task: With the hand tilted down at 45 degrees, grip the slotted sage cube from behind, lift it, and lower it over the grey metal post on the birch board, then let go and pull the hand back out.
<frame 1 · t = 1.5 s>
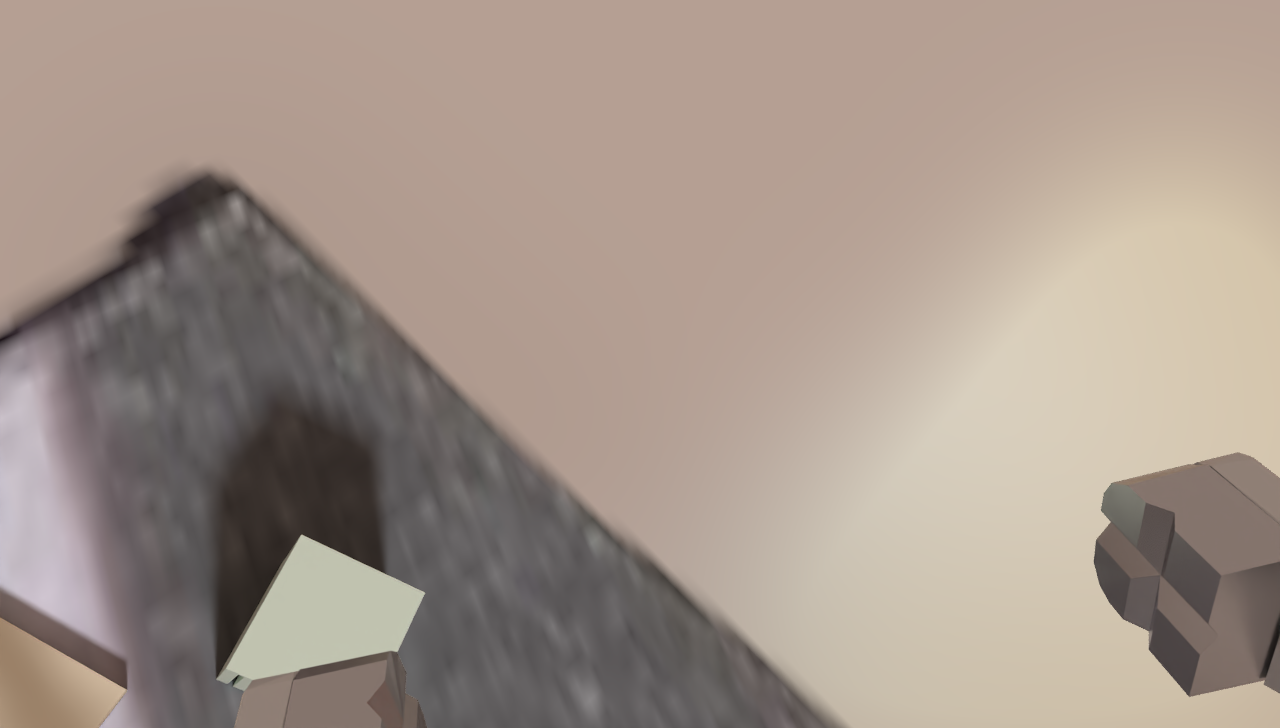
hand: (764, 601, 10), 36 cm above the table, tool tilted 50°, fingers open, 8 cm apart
slotted sage cube: (306, 644, 41), on the table
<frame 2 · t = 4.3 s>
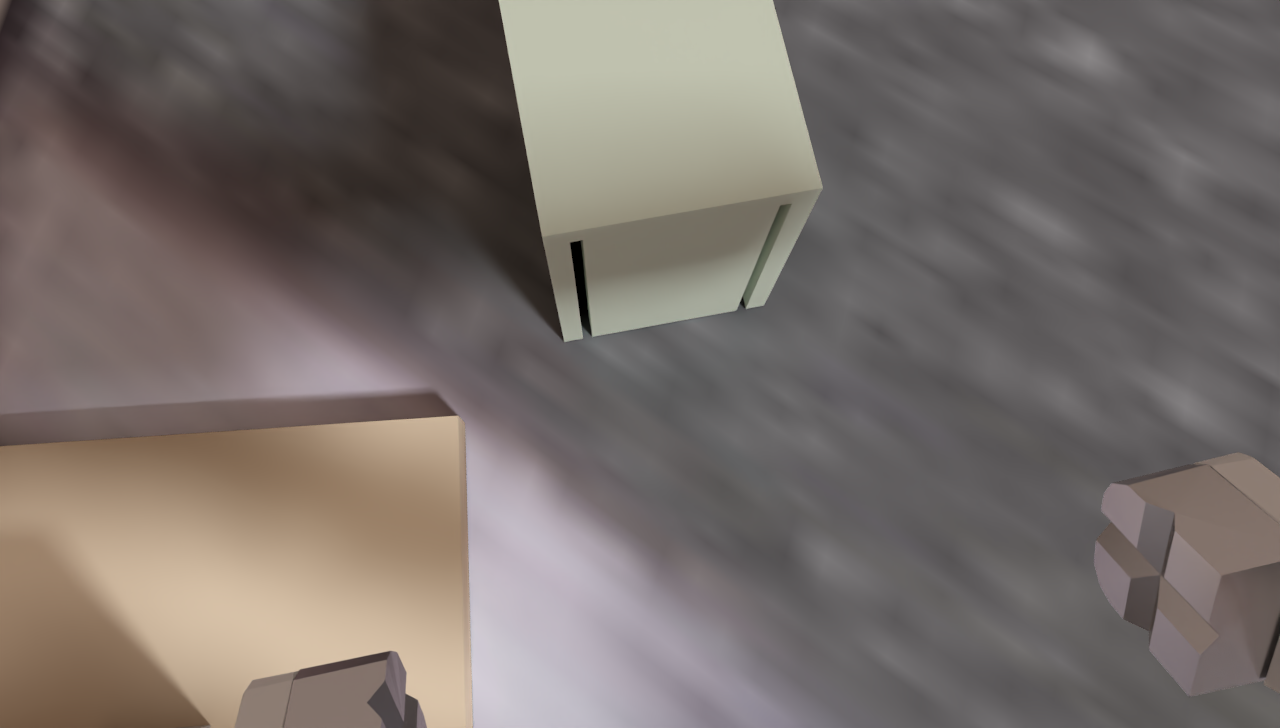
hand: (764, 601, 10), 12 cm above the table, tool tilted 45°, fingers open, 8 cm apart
slotted sage cube: (645, 230, 25), on the table
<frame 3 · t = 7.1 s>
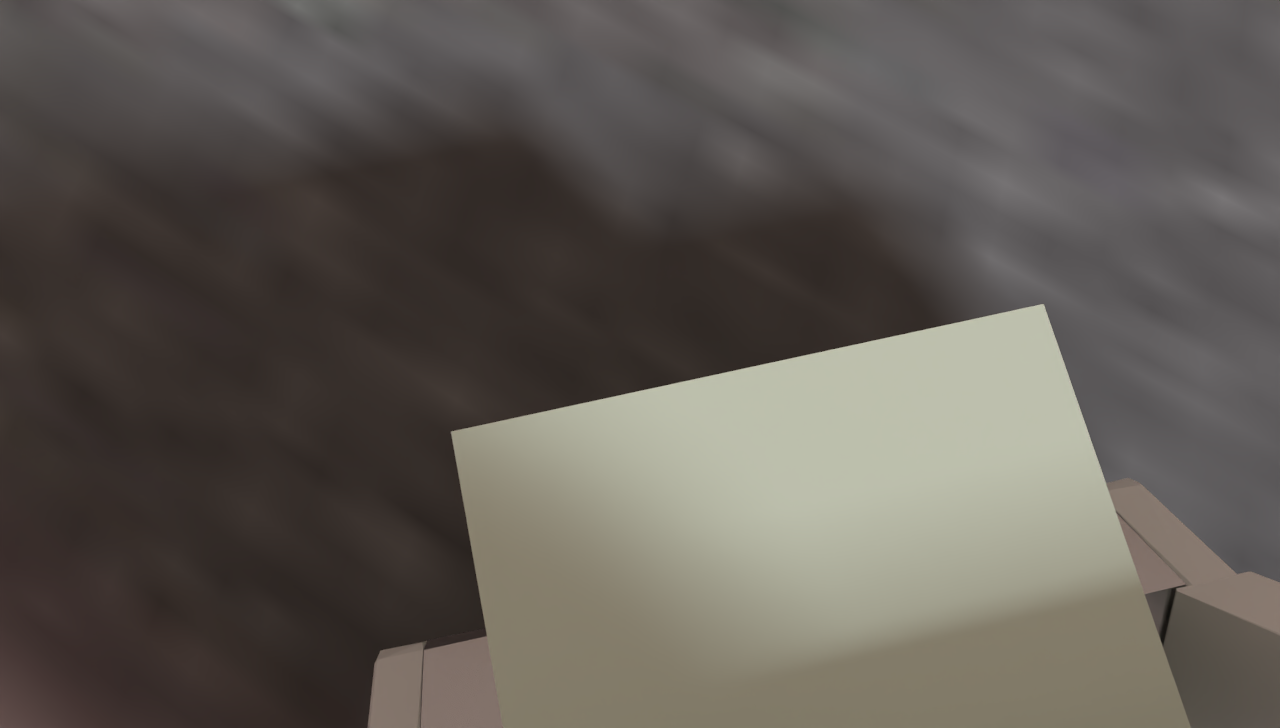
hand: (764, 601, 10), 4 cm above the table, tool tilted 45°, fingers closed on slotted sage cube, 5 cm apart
slotted sage cube: (732, 639, 14), on the table, touching gripper
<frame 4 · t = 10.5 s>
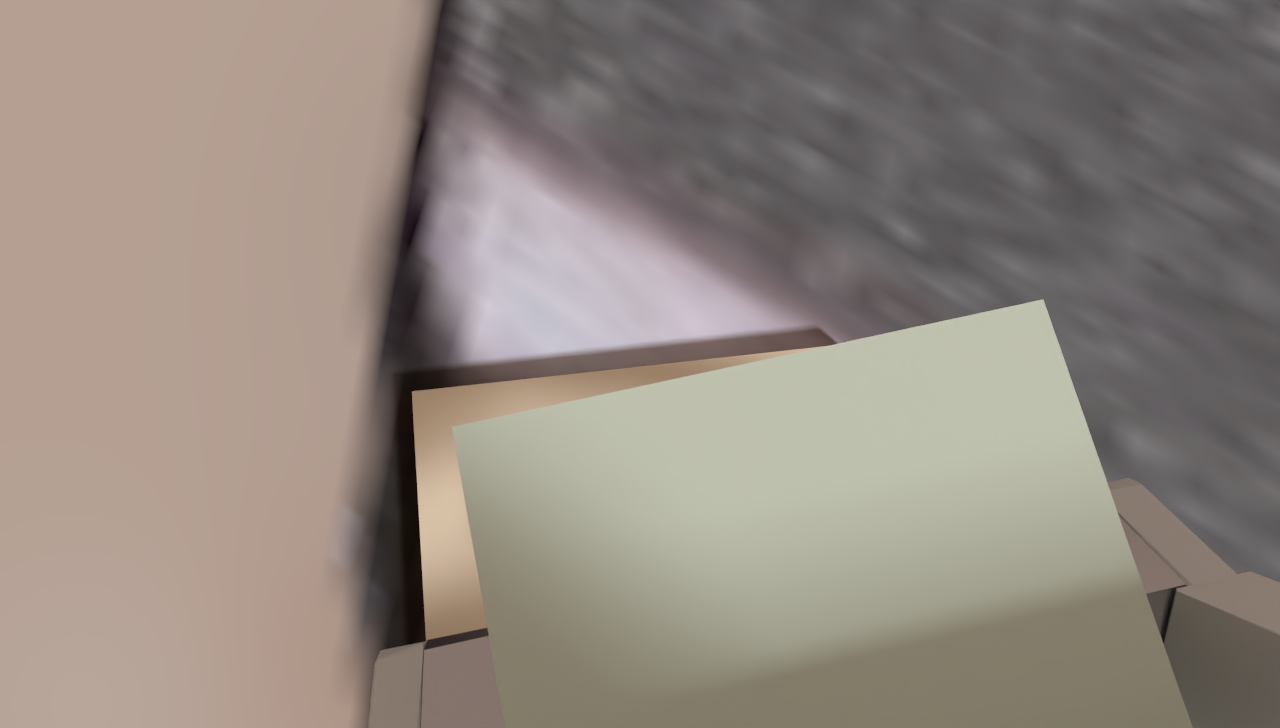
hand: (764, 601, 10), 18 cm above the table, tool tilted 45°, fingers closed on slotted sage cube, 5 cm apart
post board: (664, 628, 28), on the table
slotted sage cube: (732, 636, 14), point 14 cm above the table, touching gripper
when the fingers open (7 cm above the table, at t = 13.8 s): slotted sage cube drops 2 cm, resting on post board.
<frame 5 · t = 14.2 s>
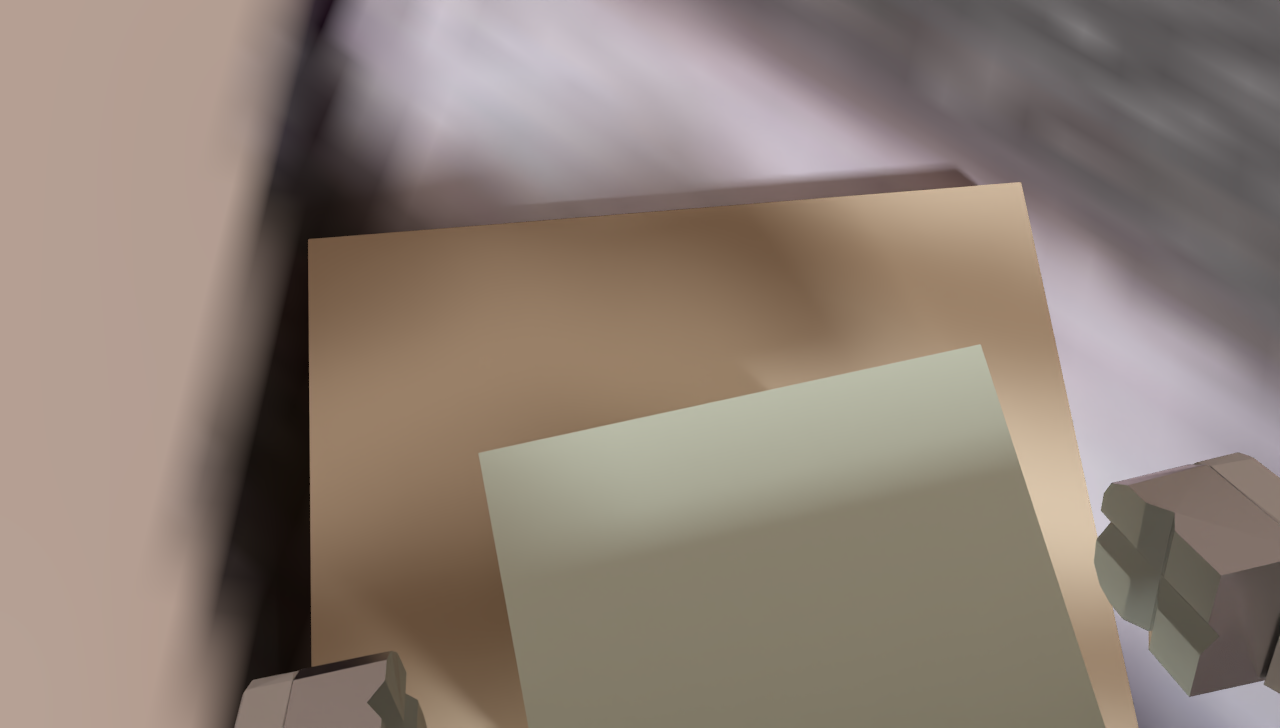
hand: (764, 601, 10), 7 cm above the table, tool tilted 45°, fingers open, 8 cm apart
post board: (713, 633, 17), on the table
slotted sage cube: (721, 632, 16), point 1 cm above the table, touching post board
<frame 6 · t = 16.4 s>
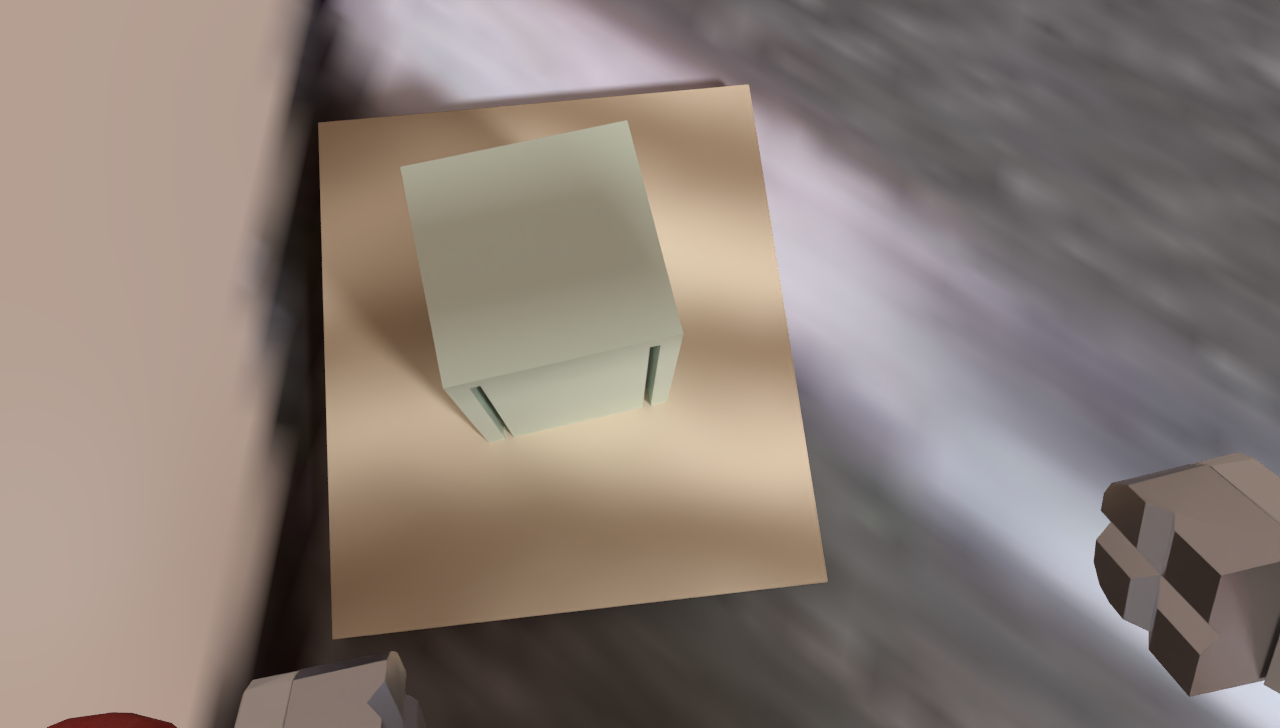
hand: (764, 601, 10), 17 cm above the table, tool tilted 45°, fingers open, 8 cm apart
post board: (560, 347, 28), on the table
slotted sage cube: (559, 336, 28), point 1 cm above the table, touching post board
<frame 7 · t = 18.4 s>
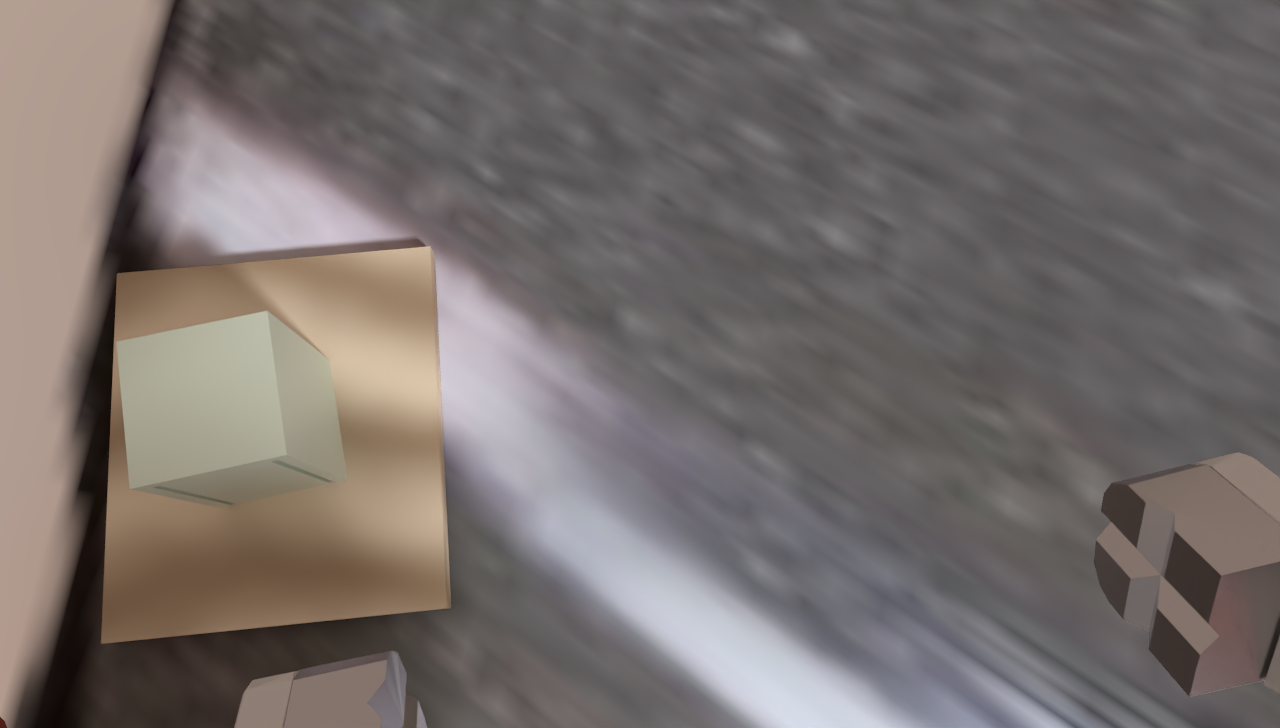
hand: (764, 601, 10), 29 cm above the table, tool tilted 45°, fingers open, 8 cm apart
post board: (283, 437, 40), on the table
slotted sage cube: (275, 432, 39), point 1 cm above the table, touching post board
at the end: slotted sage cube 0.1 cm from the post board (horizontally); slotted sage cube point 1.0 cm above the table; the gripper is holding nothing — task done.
